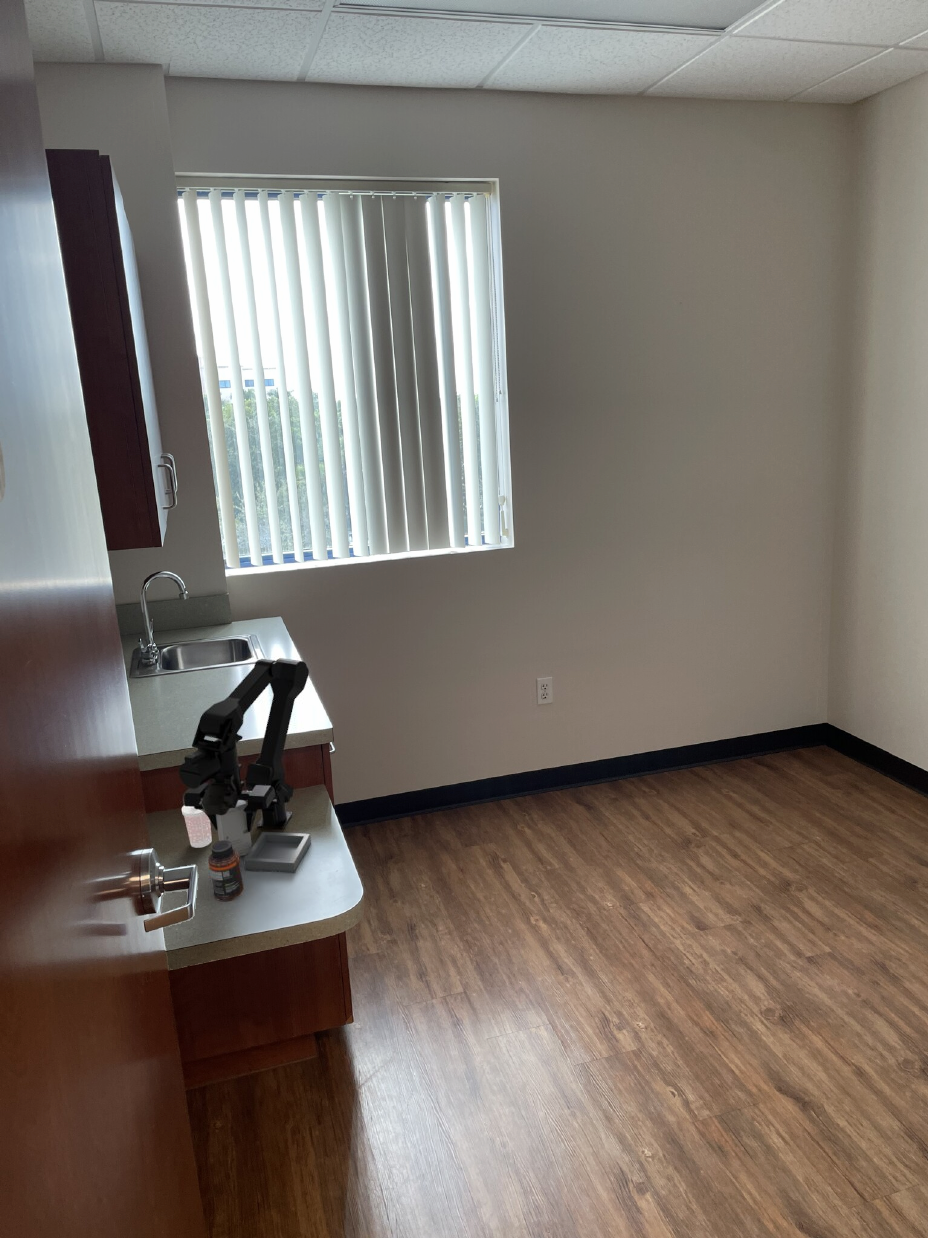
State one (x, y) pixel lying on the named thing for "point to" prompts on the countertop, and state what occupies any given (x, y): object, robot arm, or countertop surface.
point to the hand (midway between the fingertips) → (233, 830)
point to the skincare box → (235, 828)
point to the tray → (277, 852)
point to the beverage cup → (197, 826)
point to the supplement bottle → (225, 871)
